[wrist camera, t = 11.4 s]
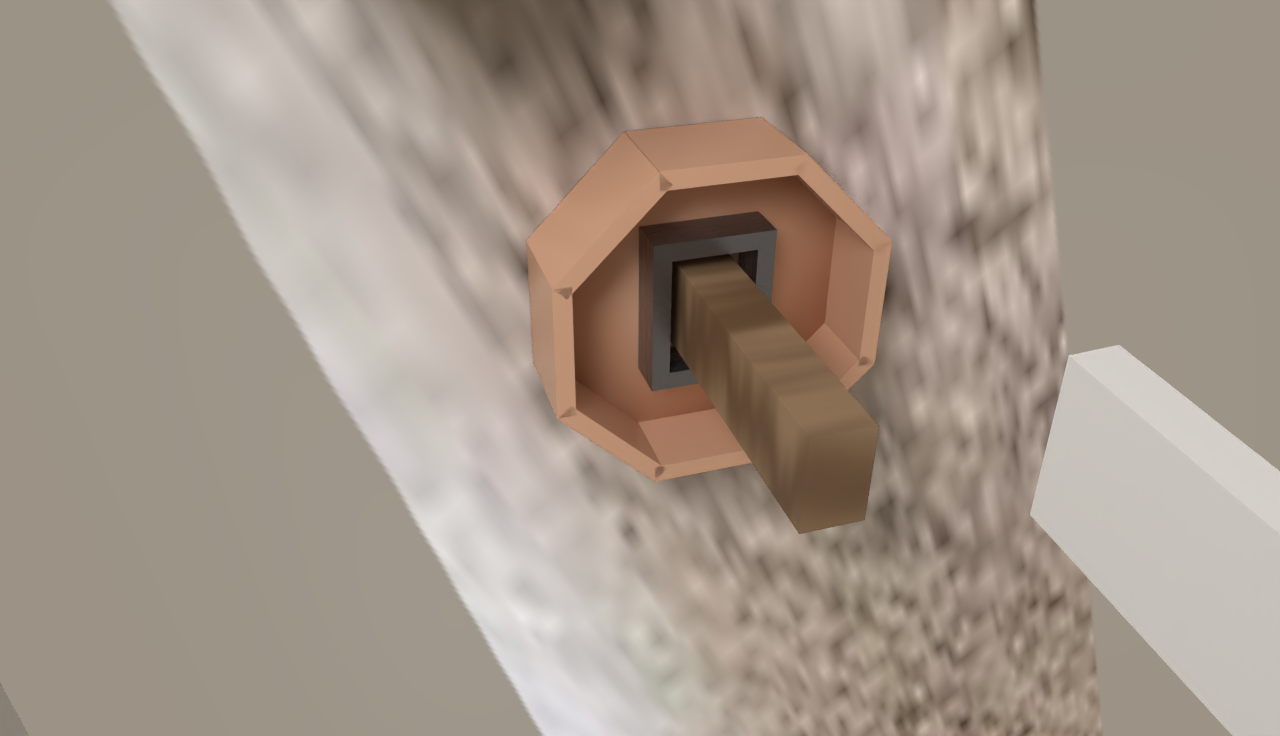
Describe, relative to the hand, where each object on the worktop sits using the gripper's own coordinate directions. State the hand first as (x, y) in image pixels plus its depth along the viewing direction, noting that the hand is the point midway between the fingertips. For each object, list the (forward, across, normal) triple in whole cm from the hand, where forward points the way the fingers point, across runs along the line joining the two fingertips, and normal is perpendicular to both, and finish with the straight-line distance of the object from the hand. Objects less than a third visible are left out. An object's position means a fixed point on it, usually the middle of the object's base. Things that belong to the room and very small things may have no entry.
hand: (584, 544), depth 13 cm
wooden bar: (+29, +12, -15) cm, 35 cm away
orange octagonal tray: (+30, +12, -15) cm, 36 cm away
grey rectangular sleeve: (+30, +12, -15) cm, 36 cm away
